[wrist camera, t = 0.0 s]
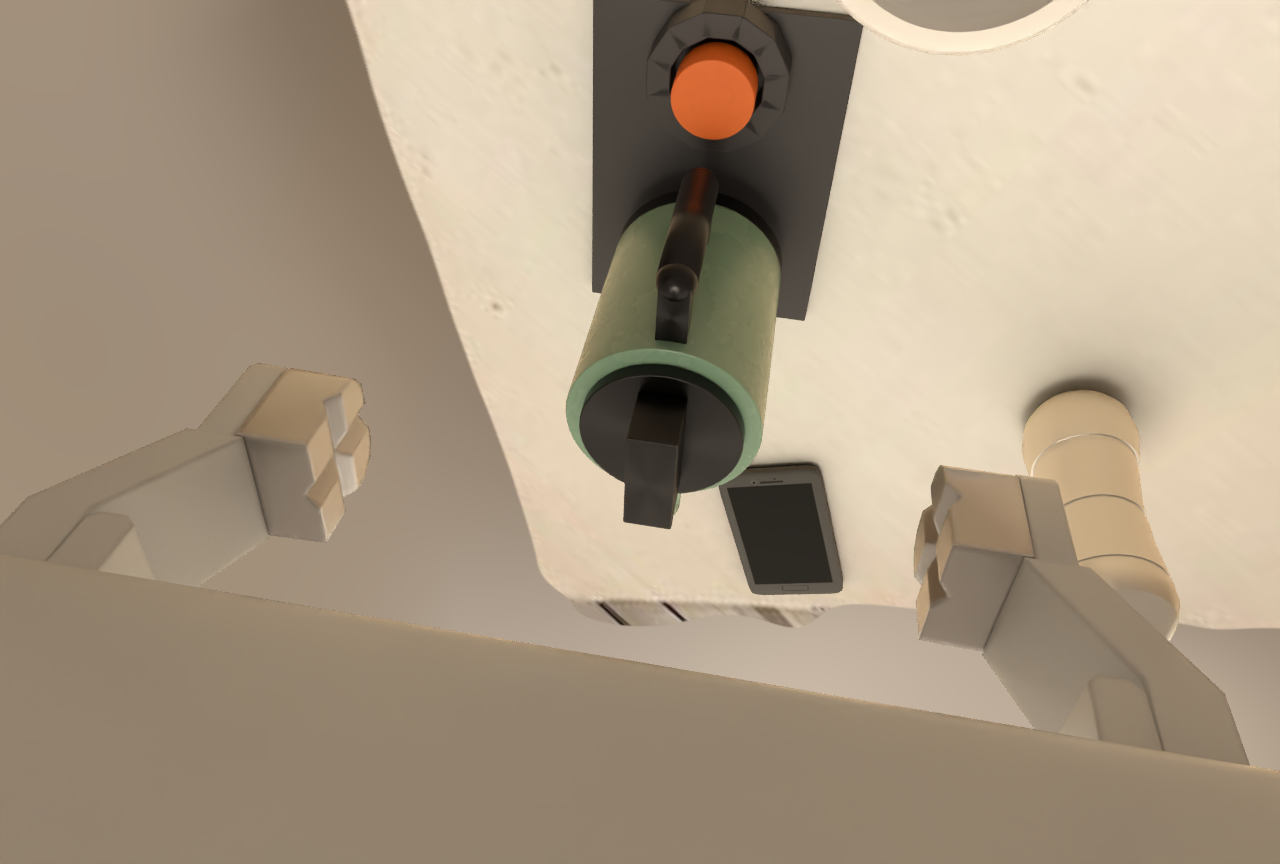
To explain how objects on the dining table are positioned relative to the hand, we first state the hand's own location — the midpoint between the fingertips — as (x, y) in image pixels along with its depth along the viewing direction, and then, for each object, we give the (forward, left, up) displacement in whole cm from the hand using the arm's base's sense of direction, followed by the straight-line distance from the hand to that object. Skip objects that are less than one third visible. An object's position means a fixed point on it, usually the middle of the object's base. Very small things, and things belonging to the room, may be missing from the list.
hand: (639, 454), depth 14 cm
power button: (+12, -2, -37) cm, 39 cm away
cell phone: (+47, +6, -39) cm, 61 cm away
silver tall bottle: (+32, +22, -39) cm, 55 cm away
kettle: (+22, -2, -36) cm, 42 cm away
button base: (+18, -2, -39) cm, 43 cm away
